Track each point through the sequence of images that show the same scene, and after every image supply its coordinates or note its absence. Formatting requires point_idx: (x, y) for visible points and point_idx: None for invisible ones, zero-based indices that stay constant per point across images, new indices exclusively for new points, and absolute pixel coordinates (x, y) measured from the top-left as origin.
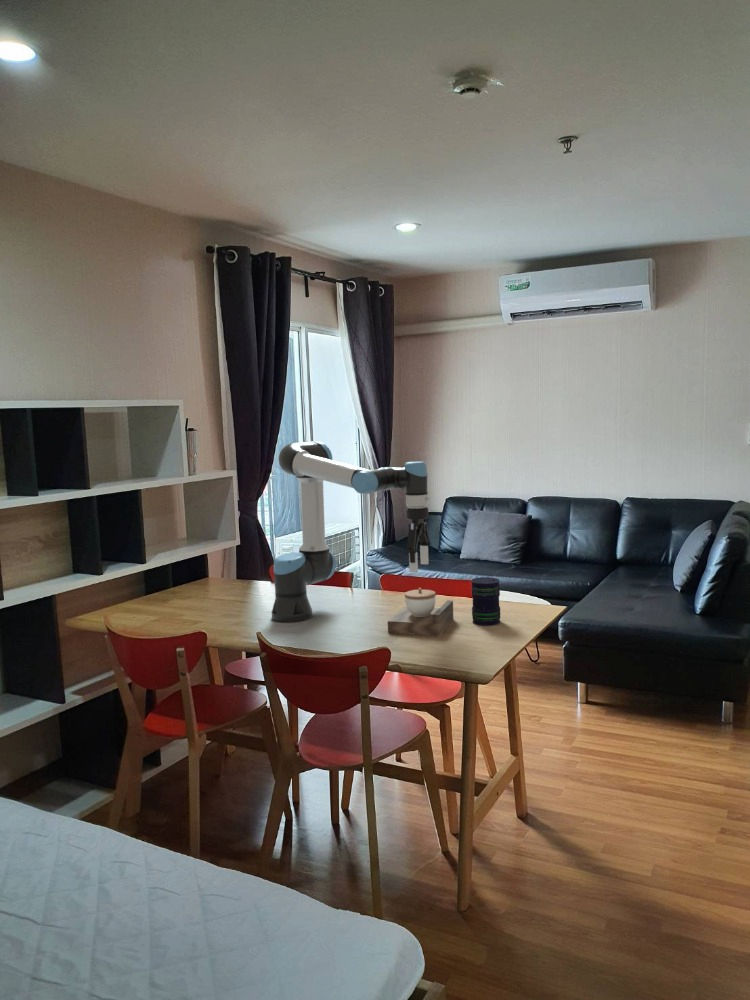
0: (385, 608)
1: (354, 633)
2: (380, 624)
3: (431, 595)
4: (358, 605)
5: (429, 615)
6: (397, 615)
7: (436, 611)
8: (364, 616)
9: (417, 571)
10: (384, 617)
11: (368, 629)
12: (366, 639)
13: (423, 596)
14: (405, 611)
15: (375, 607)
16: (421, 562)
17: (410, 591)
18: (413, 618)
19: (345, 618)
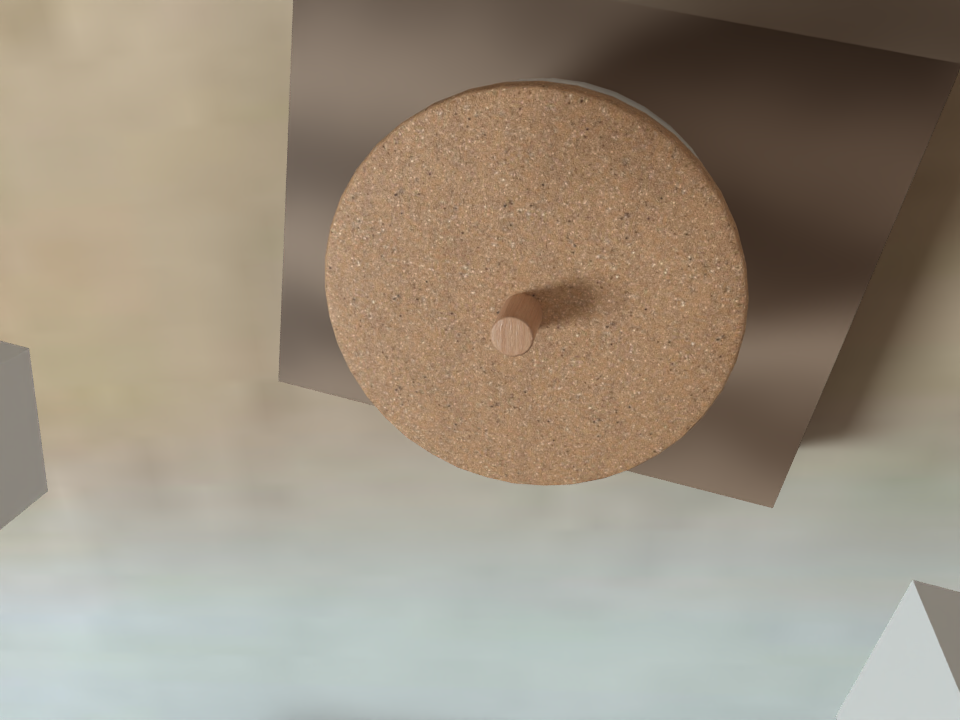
0: (107, 477)
1: (747, 652)
2: (518, 503)
3: (674, 139)
4: (81, 621)
5: None
6: None
7: (833, 34)
8: (321, 594)
9: (954, 600)
10: (331, 480)
11: (650, 574)
12: None
13: (742, 257)
14: None
15: (99, 534)
16: (18, 497)
17: (457, 428)
18: None
19: (379, 688)
